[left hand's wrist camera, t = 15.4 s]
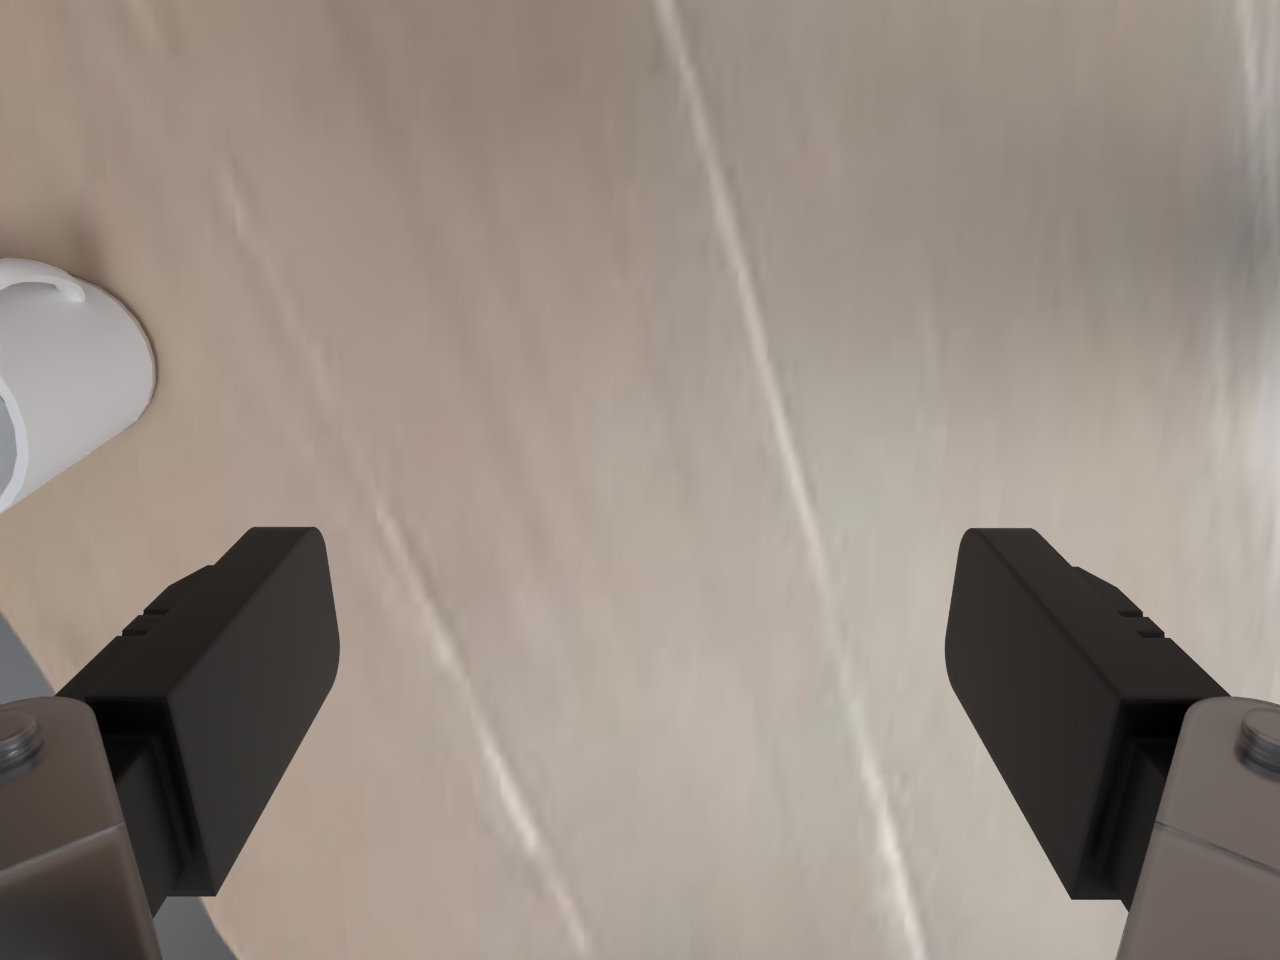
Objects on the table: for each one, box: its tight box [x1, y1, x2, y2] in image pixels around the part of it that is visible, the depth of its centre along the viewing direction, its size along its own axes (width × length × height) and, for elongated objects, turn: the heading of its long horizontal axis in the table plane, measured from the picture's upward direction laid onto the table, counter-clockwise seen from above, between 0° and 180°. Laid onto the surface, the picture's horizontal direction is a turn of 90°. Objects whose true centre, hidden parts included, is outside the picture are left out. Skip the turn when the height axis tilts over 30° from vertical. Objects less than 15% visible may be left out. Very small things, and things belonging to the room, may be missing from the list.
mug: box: [0, 258, 156, 514], centre depth 37 cm, size 11×9×10 cm
